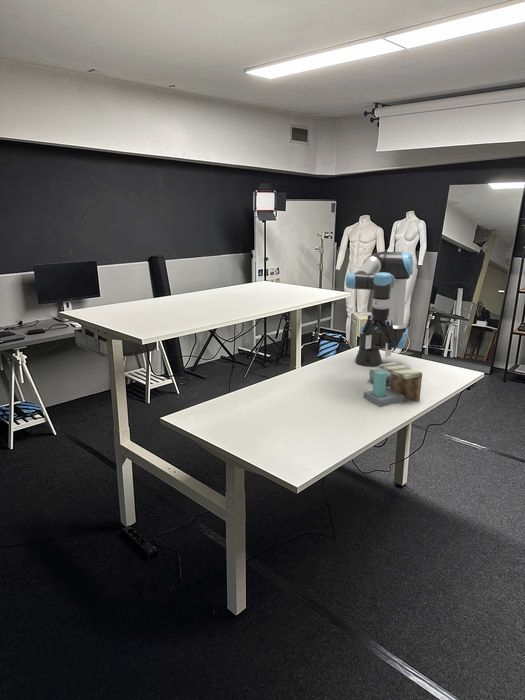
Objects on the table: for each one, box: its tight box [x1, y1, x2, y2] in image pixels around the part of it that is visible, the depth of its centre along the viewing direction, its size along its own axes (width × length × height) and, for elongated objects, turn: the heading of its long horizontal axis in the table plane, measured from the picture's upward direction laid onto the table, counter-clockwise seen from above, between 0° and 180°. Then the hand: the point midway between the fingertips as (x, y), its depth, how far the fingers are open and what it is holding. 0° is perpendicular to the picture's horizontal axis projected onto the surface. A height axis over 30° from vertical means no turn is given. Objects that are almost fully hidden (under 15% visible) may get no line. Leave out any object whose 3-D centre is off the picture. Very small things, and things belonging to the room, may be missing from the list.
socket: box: [363, 386, 405, 408], centre depth 222 cm, size 12×14×3 cm
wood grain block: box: [378, 361, 423, 402], centre depth 225 cm, size 18×10×14 cm, turn 27°
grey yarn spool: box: [368, 366, 391, 386], centre depth 243 cm, size 14×10×10 cm
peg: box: [372, 371, 387, 398], centre depth 219 cm, size 4×4×14 cm
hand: (377, 352), depth 219 cm, fingers open, 13 cm apart
